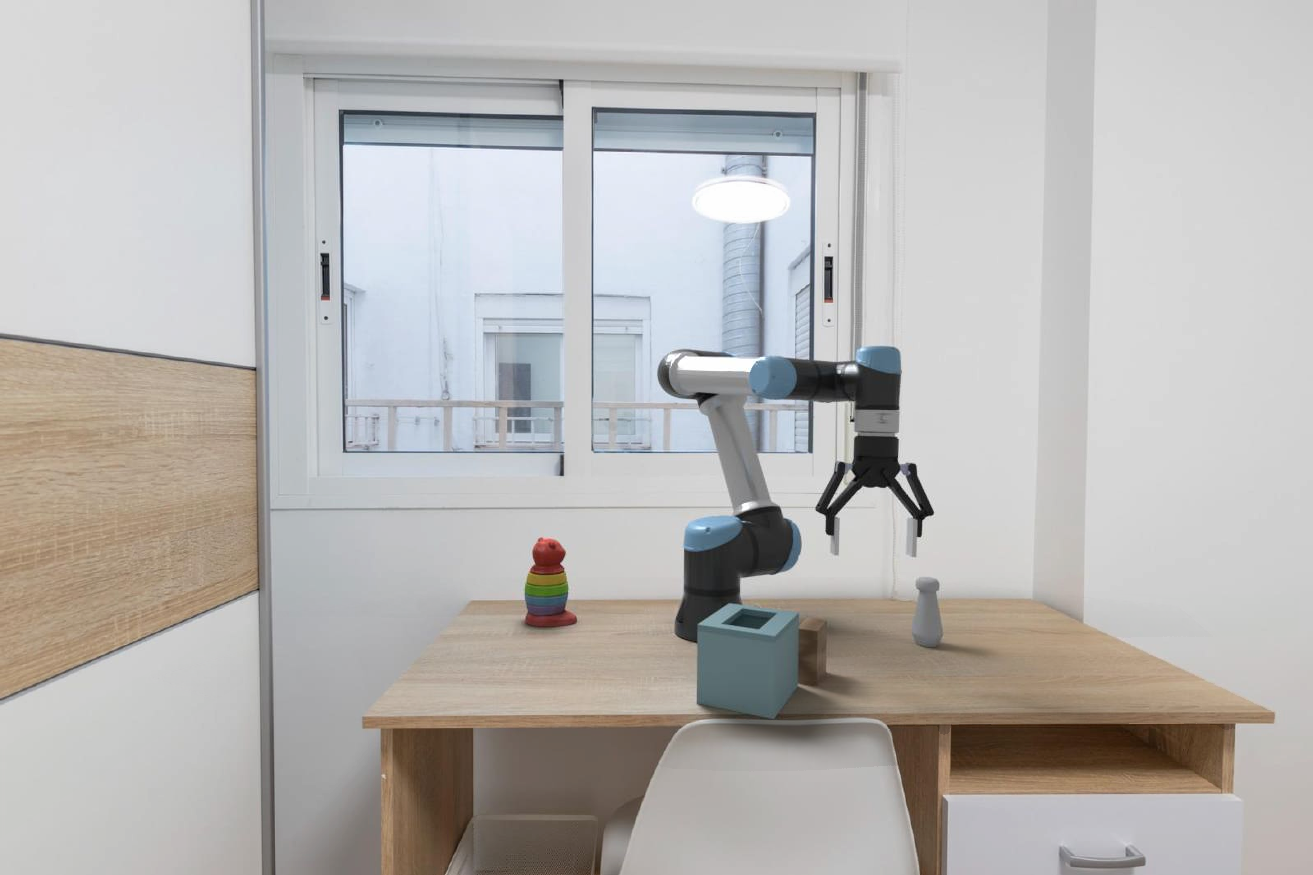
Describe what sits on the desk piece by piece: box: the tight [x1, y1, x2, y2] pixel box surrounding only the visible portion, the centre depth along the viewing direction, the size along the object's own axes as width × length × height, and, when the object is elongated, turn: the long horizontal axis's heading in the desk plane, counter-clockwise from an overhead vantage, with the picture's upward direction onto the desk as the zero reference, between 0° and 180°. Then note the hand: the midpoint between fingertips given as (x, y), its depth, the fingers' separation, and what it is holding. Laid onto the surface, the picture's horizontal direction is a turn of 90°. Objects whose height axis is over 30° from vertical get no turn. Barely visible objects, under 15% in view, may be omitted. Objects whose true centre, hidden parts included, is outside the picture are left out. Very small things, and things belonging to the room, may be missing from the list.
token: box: [798, 617, 828, 687], centre depth 111 cm, size 4×7×9 cm, turn 154°
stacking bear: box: [524, 536, 578, 627], centre depth 142 cm, size 11×10×18 cm
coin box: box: [696, 603, 800, 720], centre depth 104 cm, size 12×14×12 cm
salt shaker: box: [910, 576, 944, 648], centre depth 129 cm, size 6×6×13 cm
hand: (872, 555), depth 116 cm, fingers open, 13 cm apart
